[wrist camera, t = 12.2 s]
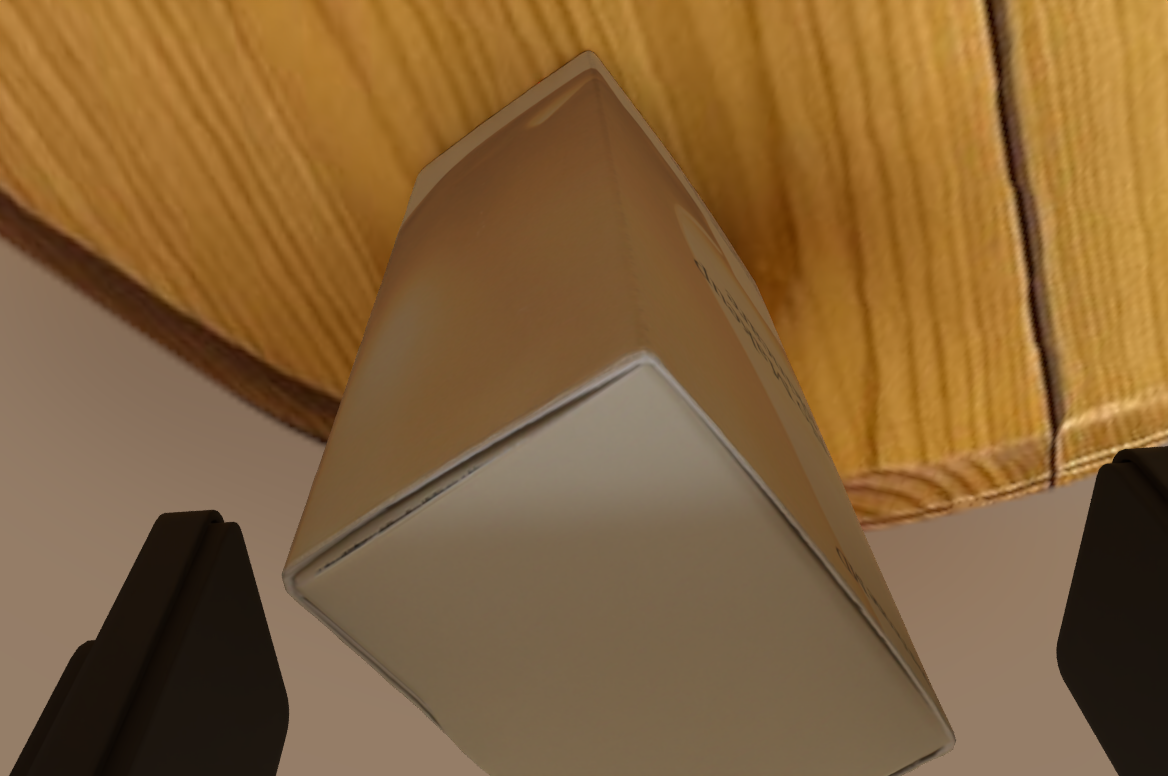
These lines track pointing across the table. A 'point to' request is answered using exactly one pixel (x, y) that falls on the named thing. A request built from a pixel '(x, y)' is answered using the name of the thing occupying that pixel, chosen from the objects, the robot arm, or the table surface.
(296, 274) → the table surface
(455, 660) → the cosmetic box
